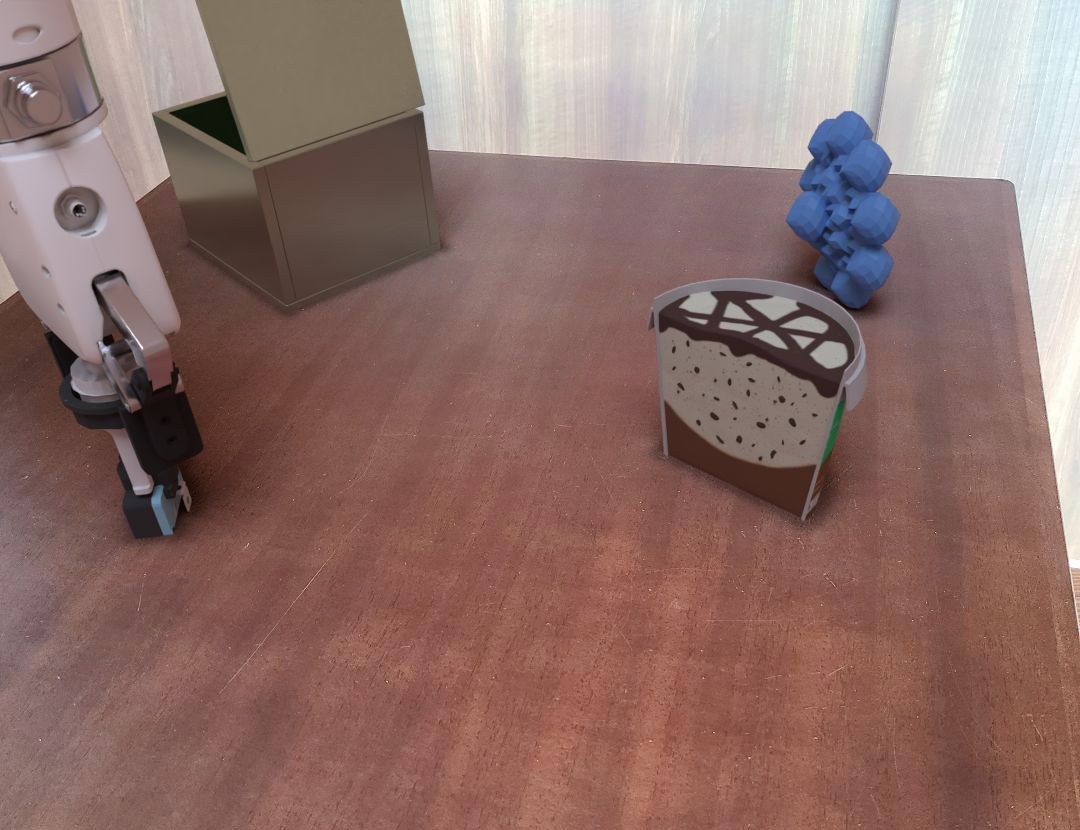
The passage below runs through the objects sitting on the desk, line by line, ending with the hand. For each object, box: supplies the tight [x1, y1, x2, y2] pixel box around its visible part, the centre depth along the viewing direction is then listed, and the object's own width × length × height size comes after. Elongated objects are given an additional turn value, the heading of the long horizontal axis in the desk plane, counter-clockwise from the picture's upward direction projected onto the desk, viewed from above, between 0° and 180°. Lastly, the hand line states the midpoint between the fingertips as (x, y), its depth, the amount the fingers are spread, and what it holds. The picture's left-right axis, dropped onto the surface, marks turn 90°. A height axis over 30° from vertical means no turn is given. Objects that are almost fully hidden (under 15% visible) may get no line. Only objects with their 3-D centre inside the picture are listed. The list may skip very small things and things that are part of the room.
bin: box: [151, 90, 442, 314], centre depth 79 cm, size 16×14×11 cm
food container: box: [645, 277, 868, 522], centre depth 56 cm, size 12×6×10 cm, turn 47°
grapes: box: [785, 110, 901, 309], centre depth 69 cm, size 12×7×12 cm, turn 12°
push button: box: [58, 354, 193, 540], centre depth 56 cm, size 7×5×10 cm
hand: (135, 422), depth 55 cm, fingers open, 9 cm apart
